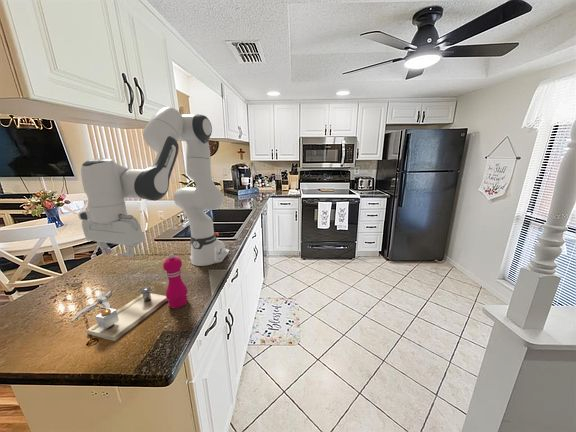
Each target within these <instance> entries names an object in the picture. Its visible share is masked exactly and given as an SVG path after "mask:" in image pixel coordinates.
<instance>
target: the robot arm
mask: <svg viewBox="0 0 576 432" xmlns="http://www.w3.org/2000/svg"><path fill="white" fill-rule="evenodd" d="M212 134H213V127H212V122H211V121H210V120H209V118H208V117H207V116H206V115H204V114H199V113H198V114H197V113H196V114H190V113H189V114H188V113H187V114H182V113H180V111H179V110H178V109H176V108H173V107H171V106H166V107H163V108H161V109H160V110H158V111H157V112H156V113H155V114H154V115H153V116H151V118H150V120H149V121H148V122H147V124H146V125H145V127H144V129H143V133H142V137H143V139H144V142H145V144H147V146H148V147H149V148H150V149H151V150H153V151H154V152H156V153H157V154H156V156H155V159H154V160H153V161H154V162H153V164H152V165H151V166H149V167H147V168H144V169H143V168H139V169H138V168H137V169H135V168H129V167H126V166H123V165H121V164H119V163H117V162H116V161H115V160H114V159H112V158H106V157H105V158H94V159H89V160H87V161H84V162H83V163H82V165H81V168H80V172H81V173H80V175H81V182H82V187H83V191H84V193H85V194H86V196H87V207H88V209H86V210H83V211H81V212H78V215H77V216H78V219H79V220H81V228H82V232H83V235H84V237H85V238H86V239H87V240H88V241H89V242H90V241H91V242H96V245H97V246H98V247H99V249H100V250H101V253H102V254H103V255H110V254H111V253H112V249H111V247H110V246H109V245H108V244H114V245H121V246H122V245H123V246H124V248H125V249H126V250H125V252H123V254H124V257H125V258H131V257H134V255H135V254H134V250H135V246H138V245H140V244H143V242H144V240H145V237H144V233H143V229H142V227H141V224H140V222H139V221H138V219H137V218H136V217H135V216H134V215H132V214H128V212H127V206H126V201H125V199H140V200H142V199H143V200H147V201H148V200H149V201H159V200H161V199H163V198H164V197H165V196H166V194H167V193H168V190H169V186H170V178H171V176H172V173H173V170H174V167H175V164H176V160H177V158H178V155H179V147H180V146H179V143H178V142H179V141H180V142H186V153H185V154H186V155H185V156H186V158H185V159H186V160H185V161H186V162H185V165H186V166H185V167H186V175H187V176H188V177H189V178H190V179H191V180H193V182H194V183H195V186H192V187H191V186H186V187H181V188H177V190H175V192H174V194H173V201H174V203H175V205H176V206H177V207H179V208H180V209H181V211H182V212H183V213H184V214H185V216H186V218H187V221H188V224H189V229H190V243H191V245H190V256H189V259H190V263H191V265H192V266H197V267H204V266H210V265H213V264H219V263H221V262H223V260H224V259H225V258H226V257H227V256H228V254H229V253H230V252H229V251H230V249H229V248H226V245H225V243H224V241H221V240H219V239H217V237H219V236H220V235H219V234H220V232H215V230H214V221H213V219H212V218H211V217H210V216H209V215H207V213H206V212H205V210H206V211H211V210H218V209H220V208H222V206H223V204H224V202H225V201H224V200H225V198H224V194H223V192H222V191H221V190H220V189H219V188H218V186H216V185H215V181H214V180H213V176H212V169H211V150H210V149H211V148H210V144H209V139H210V138H211V136H212Z"/></svg>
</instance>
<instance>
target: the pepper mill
mask: <svg viewBox="0 0 576 432" xmlns="http://www.w3.org/2000/svg"><path fill="white" fill-rule="evenodd" d="M182 266H183V263H182V260H181V259H180V258H179V257H177V256H175V254H174V253H170V254H169V255H168V258H166V259H165V260H164V262H163V270H164V271H165V274H166V277H167V278H168V284H167V287H166V290H165V291H166V292H165V296H166V298H167V299H168V306H169V307H170V308H172V309H178V308H181V307H183V306H186V304H187V303H188V296H187V295H188V293H189V292H188V287H187V286H186V284H185V283H184V281H183V280H182V276H181V274H182V272H183V271H182Z"/></svg>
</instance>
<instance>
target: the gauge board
mask: <svg viewBox="0 0 576 432" xmlns="http://www.w3.org/2000/svg"><path fill="white" fill-rule="evenodd" d="M150 294H151V298H150V299H149V300H148V301H146V300H144V299H143V294H142V293H141V294H140V295H139V296H137V297H135V298H134V299H132V300H131V301H129V302H128V303H126V304H124V305H123V306H122V307H120V308H118V309H116V310H117V315H118V319H119V321H117V322H116V323H114V324H113V325H111V326H110V327H108V328H107V329H103V328H99V327H98V323H95V324H94V325H92V326H90V327H89V328H88V329H86V332H87V334H88V335H90V336H94V337H97V338H102V339H105V340H108V341H113V342H116V341H117V340H118V339H120V338H121V337H122V336H124V335H125V334H126V333H127V332H129V331H130V330H132V329H133V328H134V327H136V325H138V324H139V323H141V322H142V321H143V320H145V319H146V318H147V317H148V316H150V315H151V314H152V313H153V312H155V311H156V310H158V309H159V308H160V307H162V306H163V305H164V304H165V303H166V302H169V300H168V299H167V298H166V295H163V294H162V295H161V294H158V293H157V294H156V293H151V292H150Z"/></svg>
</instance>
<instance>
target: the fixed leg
mask: <svg viewBox="0 0 576 432" xmlns="http://www.w3.org/2000/svg"><path fill="white" fill-rule="evenodd" d="M151 290H152V288H151V286H144V287H142V288H141V289H140V293H141V295H142V294H143V299H144V300H146V301H148V300H149V299H150V298H151V294H150V293H151Z"/></svg>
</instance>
